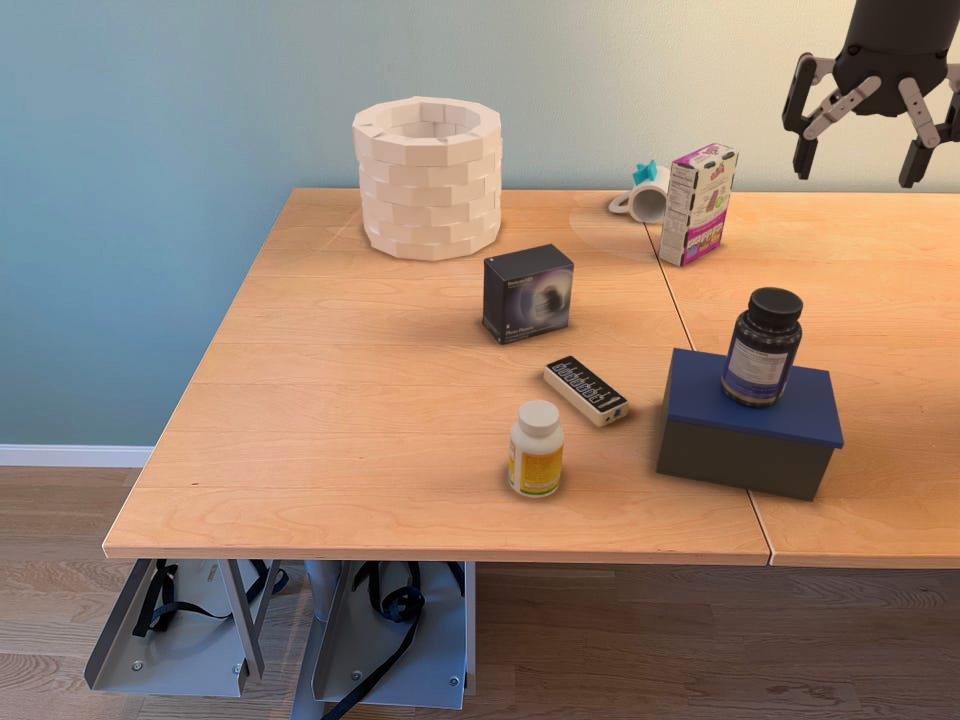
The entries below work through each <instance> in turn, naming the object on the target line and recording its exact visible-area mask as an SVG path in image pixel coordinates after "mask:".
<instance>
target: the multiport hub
mask: <svg viewBox="0 0 960 720" xmlns="http://www.w3.org/2000/svg"><path fill="white" fill-rule="evenodd" d="M543 380H544V381H545V382H546V383H547V384H549V385H550V386H551V387H552V388H553V389H554V390H556V391H557V392H558V393H559V394H560V395H561V396H562V397H563V398H565V399H566V400H567V401H568V402H569V403H570V404H571V405H573V407H575V408H576V410H578V411H579V412H581V414H583V415H584V416H585V417H586V418H587V419H588V420H590V421H591V422H592V423H594V425H595V426H597V427H598V428H603V427H605V426H608V425H609V424H611V423H613V422H616V421H618V420H619V419H620V420H621V419H622V418H624V417H626V416H627V415H628V411H629V406H630V400H629V399H628V398H627V397H626V396H625V395H623V394H622V393H620V391H618V390H617V389H615V388H614V387H613V386H612V385H610V384H609V383H608V382H607V381H605V380H604V379H603V378H602V377H601V376H599V375H598V374H597V373H595V372H594V371H593V370H592V369H590V368H589V367H588V366H587V365H586V364H584V363H583V362H581V360H579V359H578V358H577V357H576V356H575V355H572V354H570V355H566V356H563V357H561V358H559V359H556V360H553V361H551V362H549V363H546V364H545V365H544V369H543Z"/></svg>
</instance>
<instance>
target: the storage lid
mask: <svg viewBox="0 0 960 720" xmlns="http://www.w3.org/2000/svg"><path fill="white" fill-rule="evenodd" d="M671 358H672V365H671V377H670V388H669V400H668V412H667V420H673V421H679V422H685V423H690V424H696V425H702V426H708V427H714V428H719V429H725V430H731V431H737V432H743V433H749V434H754V435H760V436H766V437H772V438H778V439H784V440H789V441H795V442H801V443H807V444H813V445H819V446H824V447H830V448H835V450H836V449H837V450H843V448H844V445H845V440H844V435H843V431H842V426H841V421H840V416H839V412H838V408H837V403H836V397H835V394H834V389H833V384H832V379H831V374H830V371H829V370H826V369H821V368H820V369H819V368H812V367H806V366H799V365H794V364H793V365H792V368H791V371H790V374H789V377H788V380H787V383H786V386H785V389H784V392H783V395H782V397H781V399H780V400H779V401H778V402H776V403H775V404H773V405H770V406H768V407H763V408H755V407H749V406H745V405H742V404H739V403H737V402H735V401H734V400H732V399H731V398H729V397H728V396H727V395H726V394H725V393H724V392H723V390H722V387H721V378H722V373H723V369H724V365H725V361H726V358H727V354H719V353H713V352H707V351H699V350H692V349H686V348H681V347H680V348H679V347H673V350H672V354H671Z"/></svg>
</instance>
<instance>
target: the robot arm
mask: <svg viewBox="0 0 960 720" xmlns="http://www.w3.org/2000/svg"><path fill="white" fill-rule="evenodd" d="M959 23H960V0H855V3H854V6H853V10H852V14H851V19H850V21H849V25H848V29H847V32H846V37H845V40H844V42H843V43H844V44H843V46H842V48H841V50H840V52H839V53H838V54H837V56H836V57H835V58H827V57H818V56H814V54H813V53H811V52H809V51H807V52H802V54H800V56H799V57H798V60H797V63H796V66H795V70H794V73H793V77H792V80H791V83H790V87H789V90H788V92H787V96H786V99H785V103H784V105H783V110H782V112H781V121H782V127H783V129H784V131H786V132H792V133H795V134H797V136H798V139H797V142H796V146H795V151H794V154H793V157H792V167H793V172H794V173H795V174H797V178H798V180H800V181H808V180H809V178H810V174H811V170H812V167H813V163H814V159H815V155H816V152H817V148H818V144H819V139H818V137H819V136H820V135H821V134H822V133H823V132H825V131H826V130H827V129H828V128H829V127H830V126H832V125H833V124H836V123H838V122H839V121H840V120H842V119H843V118H844V117H845V116H847V115H848V114H849V113H850V112H852V113H854V114H855V116H859V117H860V116H861V117H862V116H863V117H869V116H874V115H880V116H882V117H885V118H894V119H895V118H898V116H901V115H903V114H905V113H906V114H907V115H908V117H909V119H910V121H911V124H912V126H913V128H914V130H915V132H916V135H917V136H916V139H911V141H910V144H909V147H908V150H907V153H906V155H905V158H904V161H903V164H902V167H901V170H900V172H899V175H898V180H897V181H898V184H899V186H900V188H901V189H909V190H911V189H912V188H913V186H914V184H915V183H916V184H917V183H918V184H919V183H920V182H921V181H922V180H923V179H924V178H925V175H926V172H927V169H928V166H929V164H930V161H931V158H932V156H933V153H934V151H935V149H936V148H937V147H938V146H940V145H942V144H946V143H950V142H953V143H960V63H959V62H958V63H948V53H949V51H950V49H951V46H952V44H953V40H954V37H955V35H956V31H957V29H958V27H959ZM828 74H831V76H832V77H833V80H834V82H835V84H836V88H835V89H834V90H833V91H832V92H830V93H829V94H828V95H827V96H826V97H825V98H823V100H821V102H820V104H819V105H818V106H817V107H816V108H815V109H814V110H813V111H812V112H811V113H809V114H808V115H807V116H805V115H803V112H804V109H805V106H806V103H807V99H808V96H809V93H810V90H811V87H815V86H817V85H819V84H820V83H821V81H822V80H823V78H825V76H826V75H828ZM945 79H946V80H948V87H949V89H950V90H951V91H952V92H953V93H952V96H951V100H950V103H949V106H948V108H947V112H946V116H945V119H944V122H941V123H937V124H935V123H934V120H933V117H932V115H931V113H930V111H929V108H928V106H927V104H926V102H925V100H924V98H925V97H926V96H927V95H929V94H930V93H931V92H932V91H934V90H935V89H936V88H937V87H938V86H940V85H941V84H942V83H943V82H944V81H945Z"/></svg>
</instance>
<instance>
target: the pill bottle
mask: <svg viewBox="0 0 960 720" xmlns="http://www.w3.org/2000/svg"><path fill="white" fill-rule="evenodd" d="M803 309H804V302H803V299H802V298H801V297H800V296H799V295H797V294H796V293H794V292H793V291H791V290H788V289H784V288H781V287H775V286H764V287H763V286H762V287H759V288H756V289H755V290H753V291H752V292H751V294H750V296H749V301H748V303H747V309H746V310H744V311H742V312H741V313H740V314H739V315H738V316H737V317H736V319H735V323H734V328H733V331H732V334H731V338H730V343H729V347H728V350H727V353H726V355H727V358H726V361H725V365H724V369H723V373H722V378H721V387H722V390H723V392H724V393H725V394H726V395H727V396H728V397H729V398H731V399H732V400H734V401H735V402H737V403H739V404H742V405H745V406H749V407H755V408H763V407H768V406H770V405H773V404H775V403H776V402H778V401H779V400H780V399H781V397H782V395H783V392H784V389H785V386H786V383H787V380H788V377H789V374H790V371H791V368H792V365H793V366H794V362H795V359H796V357H797V353H798V350H799V348H800V344H801V341H802V339H803V328H802V325H801V323H800V322H799V319H800V317H801V315H802V312H803Z"/></svg>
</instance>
